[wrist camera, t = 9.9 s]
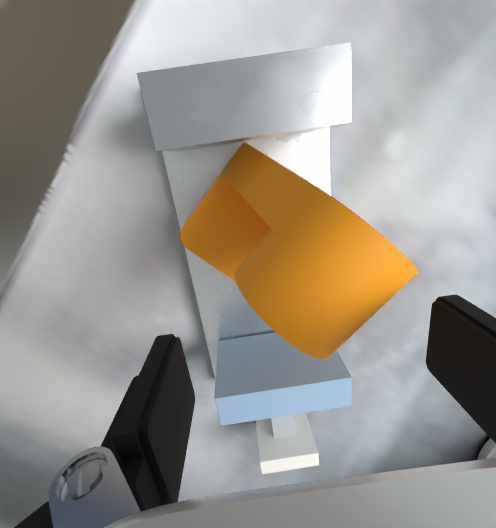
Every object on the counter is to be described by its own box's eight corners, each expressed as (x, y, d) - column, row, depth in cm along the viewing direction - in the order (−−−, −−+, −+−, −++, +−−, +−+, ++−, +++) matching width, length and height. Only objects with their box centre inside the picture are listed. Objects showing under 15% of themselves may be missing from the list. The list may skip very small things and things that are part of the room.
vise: (322, 61, 18) (375, 8, 11) (330, 359, 27) (363, 426, 20) (150, 86, 18) (104, 47, 11) (217, 377, 27) (213, 449, 20)
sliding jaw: (322, 324, 24) (351, 377, 18) (326, 420, 28) (351, 487, 22) (217, 340, 24) (214, 398, 18) (237, 434, 28) (240, 504, 22)
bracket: (180, 228, 20) (120, 322, 9) (241, 143, 18) (262, 127, 7) (290, 306, 23) (348, 448, 12) (353, 238, 21) (490, 332, 10)
